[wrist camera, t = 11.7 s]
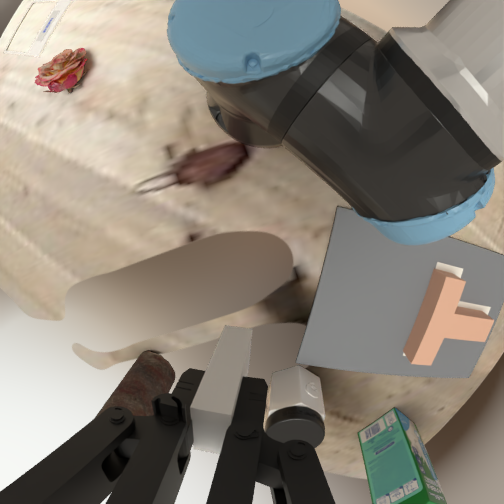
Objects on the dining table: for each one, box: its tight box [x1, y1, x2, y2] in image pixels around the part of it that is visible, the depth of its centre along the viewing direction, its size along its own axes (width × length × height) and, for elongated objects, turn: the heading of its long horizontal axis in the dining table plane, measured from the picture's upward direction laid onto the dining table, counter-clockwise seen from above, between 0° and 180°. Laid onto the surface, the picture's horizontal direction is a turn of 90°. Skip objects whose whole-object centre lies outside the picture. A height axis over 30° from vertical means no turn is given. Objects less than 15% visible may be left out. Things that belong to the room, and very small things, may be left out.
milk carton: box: [358, 407, 447, 504], centre depth 33 cm, size 9×9×25 cm
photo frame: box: [4, 0, 74, 58], centre depth 33 cm, size 15×1×18 cm
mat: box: [296, 206, 504, 378], centre depth 39 cm, size 24×36×1 cm, turn 79°
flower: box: [35, 48, 88, 93], centre depth 33 cm, size 10×9×8 cm
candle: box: [95, 351, 175, 418], centre depth 37 cm, size 8×7×20 cm
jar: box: [264, 365, 325, 448], centre depth 39 cm, size 9×8×12 cm
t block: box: [403, 269, 494, 366], centre depth 36 cm, size 14×14×4 cm
